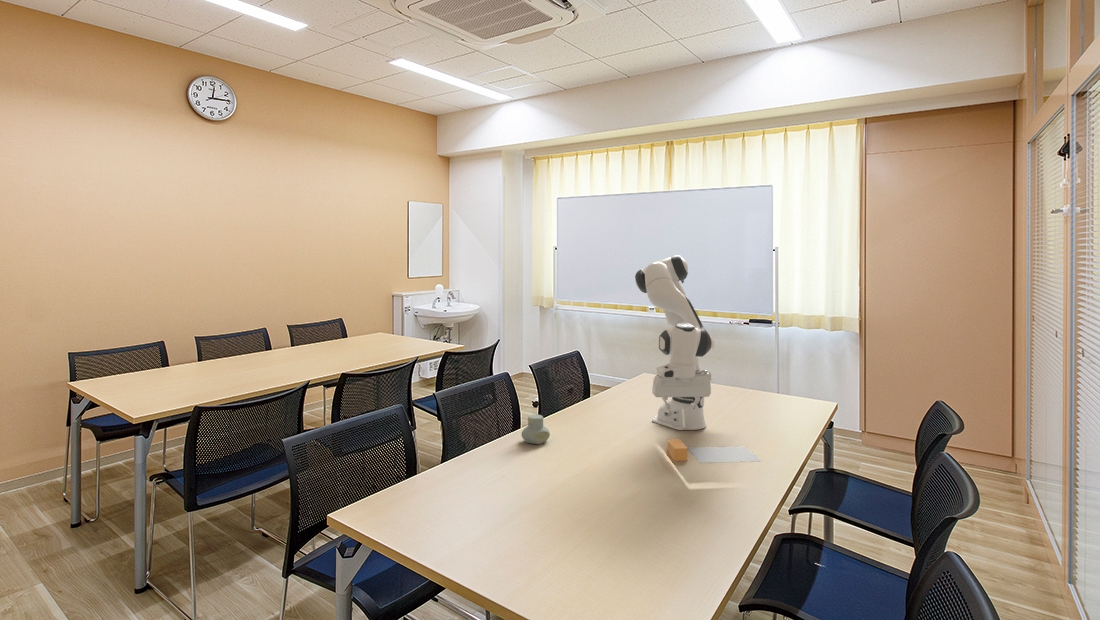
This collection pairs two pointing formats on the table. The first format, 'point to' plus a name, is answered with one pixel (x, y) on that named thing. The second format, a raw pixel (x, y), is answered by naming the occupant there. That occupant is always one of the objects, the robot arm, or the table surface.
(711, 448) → the board
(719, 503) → the table surface
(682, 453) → the block
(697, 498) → the table surface
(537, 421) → the air freshener
